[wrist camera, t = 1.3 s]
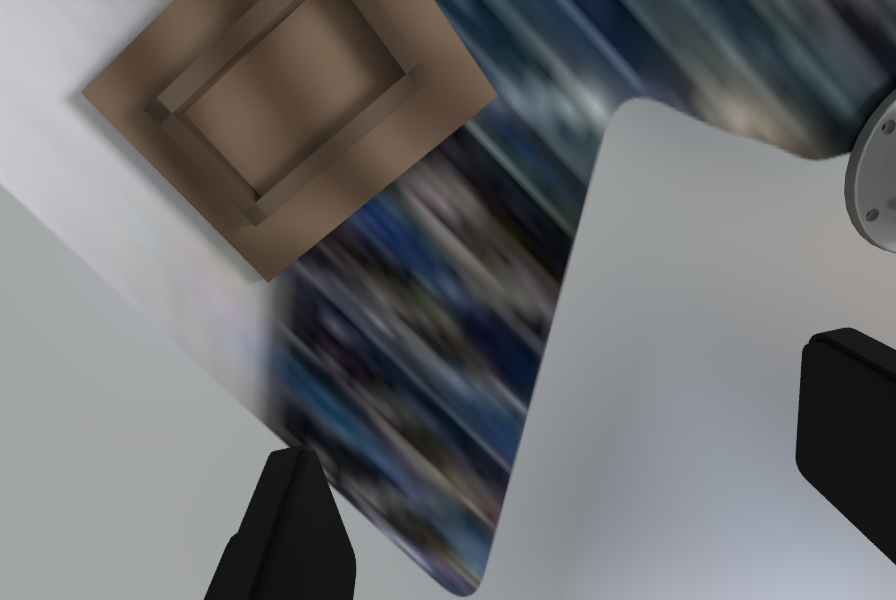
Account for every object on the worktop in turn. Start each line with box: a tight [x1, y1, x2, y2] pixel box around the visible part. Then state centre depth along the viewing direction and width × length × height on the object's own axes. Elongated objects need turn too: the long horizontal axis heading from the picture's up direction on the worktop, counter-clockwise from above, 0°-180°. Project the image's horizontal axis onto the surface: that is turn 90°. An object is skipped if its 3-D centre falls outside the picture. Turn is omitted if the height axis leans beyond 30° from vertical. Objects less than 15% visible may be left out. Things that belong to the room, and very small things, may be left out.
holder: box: [81, 0, 498, 282], centre depth 28 cm, size 18×14×3 cm
